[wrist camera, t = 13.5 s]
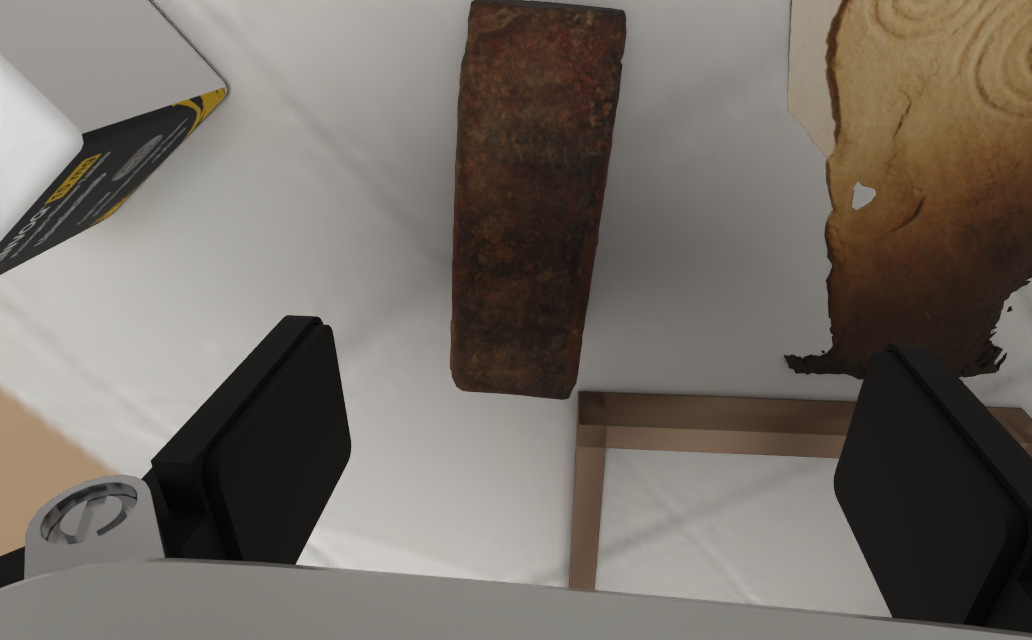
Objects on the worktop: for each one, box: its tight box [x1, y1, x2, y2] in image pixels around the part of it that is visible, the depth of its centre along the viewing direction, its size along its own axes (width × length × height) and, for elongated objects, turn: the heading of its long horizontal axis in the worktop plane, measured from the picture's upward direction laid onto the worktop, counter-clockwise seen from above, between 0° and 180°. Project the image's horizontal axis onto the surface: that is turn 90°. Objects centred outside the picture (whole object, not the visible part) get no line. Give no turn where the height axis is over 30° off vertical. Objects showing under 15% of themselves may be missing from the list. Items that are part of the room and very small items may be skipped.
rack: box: [569, 392, 1032, 590], centre depth 28 cm, size 16×24×3 cm
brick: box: [450, 0, 626, 400], centre depth 18 cm, size 11×4×5 cm, turn 176°
